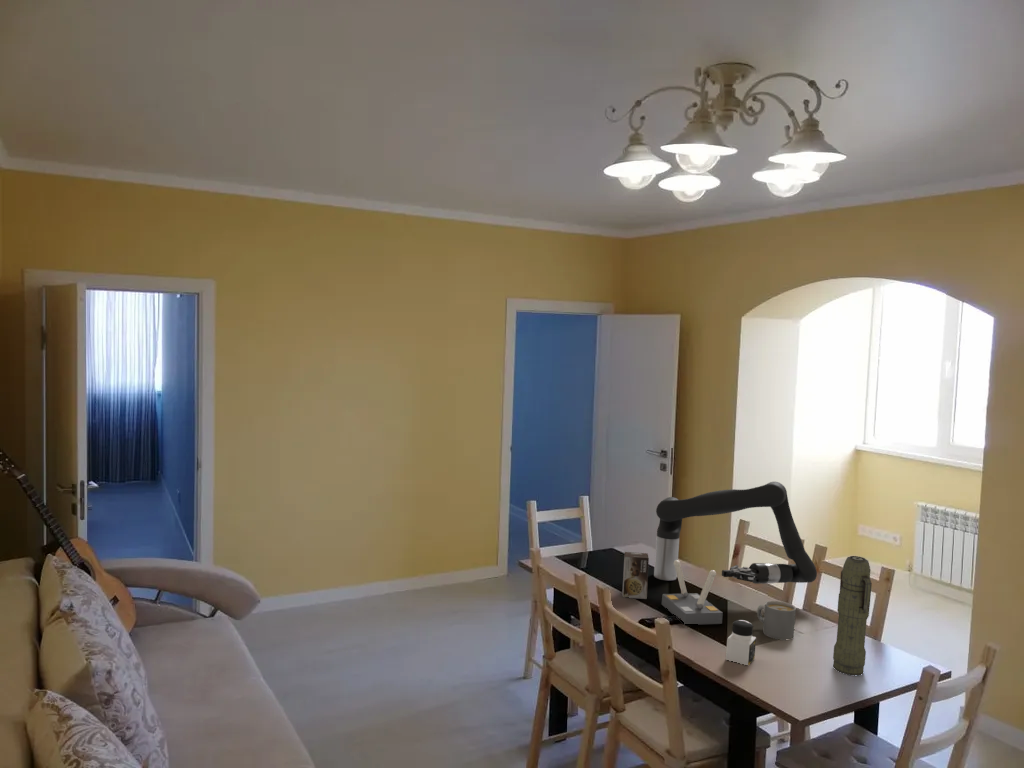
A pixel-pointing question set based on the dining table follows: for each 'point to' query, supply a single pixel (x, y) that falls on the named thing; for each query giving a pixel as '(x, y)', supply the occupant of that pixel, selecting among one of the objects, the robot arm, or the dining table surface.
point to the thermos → (852, 616)
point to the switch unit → (691, 609)
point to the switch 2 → (706, 589)
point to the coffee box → (635, 575)
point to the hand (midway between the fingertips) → (722, 573)
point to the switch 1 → (680, 578)
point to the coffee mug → (777, 619)
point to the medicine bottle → (741, 643)
